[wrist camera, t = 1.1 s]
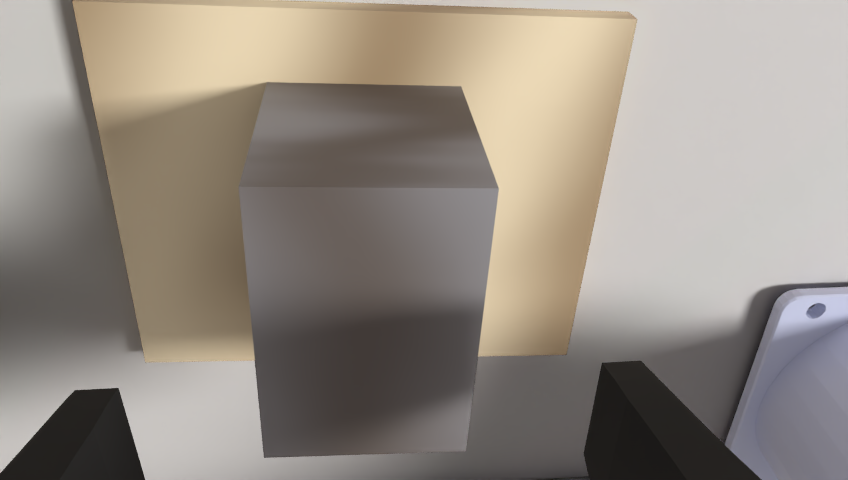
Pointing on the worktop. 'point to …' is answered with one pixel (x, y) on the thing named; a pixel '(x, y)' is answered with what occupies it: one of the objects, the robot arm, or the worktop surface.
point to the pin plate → (575, 479)
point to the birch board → (216, 109)
